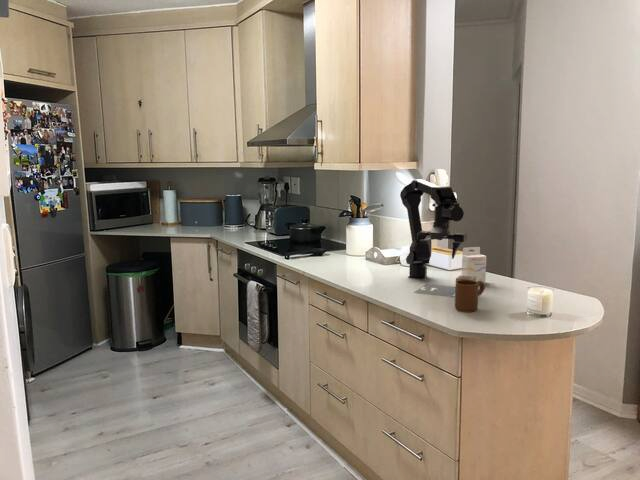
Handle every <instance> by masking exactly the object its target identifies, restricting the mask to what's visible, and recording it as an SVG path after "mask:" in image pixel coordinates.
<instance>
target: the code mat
mask: <svg viewBox="0 0 640 480" xmlns="http://www.w3.org/2000/svg"><path fill="white" fill-rule="evenodd" d="M478 290H479V288H478ZM412 293H413V294H419V295H430V296H438V297H448V298H454V299H455V286H453V285H451V286H450V285H443V284H432V283H426V284H424V285H423V286H421V287H420V288H418V289H416V290H415V291H413V292H412Z"/></svg>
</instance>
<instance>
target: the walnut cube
mask: <svg viewBox="0 0 640 480" xmlns="http://www.w3.org/2000/svg"><path fill="white" fill-rule="evenodd" d="M460 280H470V281H475V282H476V277H472V276H462V274H460V275H459V276H457V277H455V283H456V282H457V281H460Z"/></svg>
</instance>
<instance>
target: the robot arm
mask: <svg viewBox="0 0 640 480" xmlns="http://www.w3.org/2000/svg"><path fill="white" fill-rule="evenodd" d="M424 194H427V195H429V196H430V198H431V200H433V201H434V202H433V203H432V207H434V221H433V225H432V227H431V229H430V230H423V228H422V227H423V226H422V222H421V215H420V208H419V206H420V205H421V203H422V202H421V201H422V196H423V195H424ZM399 197H400V199H401V203H402V205H403V206H404V207H405V208H406V211H407V217H408V223H409V230H410V235H411V244H410V246H409V253H408V254H407V256H406V258H405V261H406V264H407V265H409V274H408V275H409V276H407V278H408V279H415V280H417V279H418V280H423V279H425V278H426V277H428V267H427V264H430V259H431V257H432V240H438V241H441V240H453V242H452V252H451V259H452V260H453V259H454V258H455V256H456V253H457V251H458V249H459V247H460V245H461V244H462V243H464V242H466V241H468V234H467V233H466V232H455V233H454V234H453V233H452V234H451V231H450V224H451V222H453V221H454V222H459V221H460V222H461V220H462V219H463V217H464V214H465V213H464V210H463V208H462V207H461V206H460V203H459V202H458V199H457V198H456V195H455V192H454V190H453V188H452V187H451V186H448V185H437V184H435V183H432V182H429V181H426V180H425V179H421V178H420V179H417V178H416V179H413V180H412V181H411V182H410V183H408V184H407V185H405V186H404V187H403V189H401V191H400V196H399Z"/></svg>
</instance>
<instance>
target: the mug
mask: <svg viewBox="0 0 640 480" xmlns="http://www.w3.org/2000/svg"><path fill="white" fill-rule="evenodd" d="M454 287H455V298H454V308H455V310H457V311H459V312H464V313H474V312H476V311H477V310H478V307H479V296H481V295H482V294H483V293H484V292H485V287H486V285H485V283H483V282H482V281H477V282H475V281H470V280H460V281H457V282H456V281H455V285H454ZM478 289H479V290H478Z"/></svg>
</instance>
